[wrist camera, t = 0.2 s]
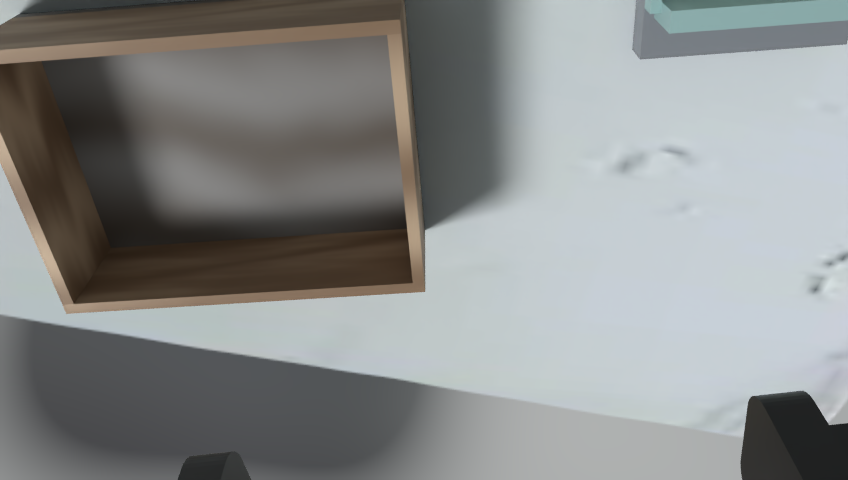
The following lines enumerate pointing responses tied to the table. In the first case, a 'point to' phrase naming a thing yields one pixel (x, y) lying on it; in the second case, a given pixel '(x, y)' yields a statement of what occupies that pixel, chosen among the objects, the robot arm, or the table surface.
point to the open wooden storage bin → (215, 151)
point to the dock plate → (736, 26)
